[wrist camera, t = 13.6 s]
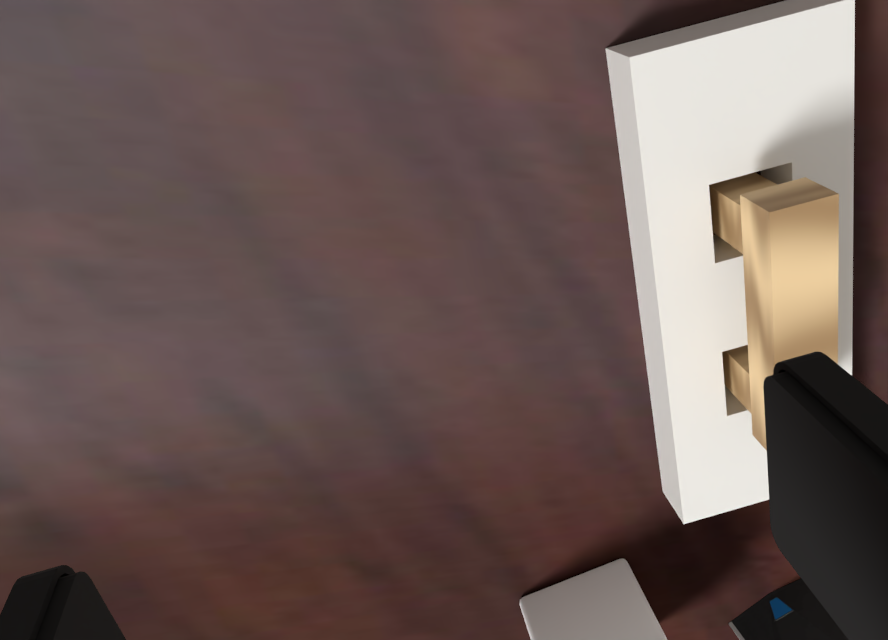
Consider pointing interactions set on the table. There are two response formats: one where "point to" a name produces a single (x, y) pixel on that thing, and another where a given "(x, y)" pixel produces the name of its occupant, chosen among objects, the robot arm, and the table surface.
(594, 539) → the table surface
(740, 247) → the tan wooden u-shaped block
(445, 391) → the table surface
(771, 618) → the padlock
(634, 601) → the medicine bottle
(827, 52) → the white slotted board
